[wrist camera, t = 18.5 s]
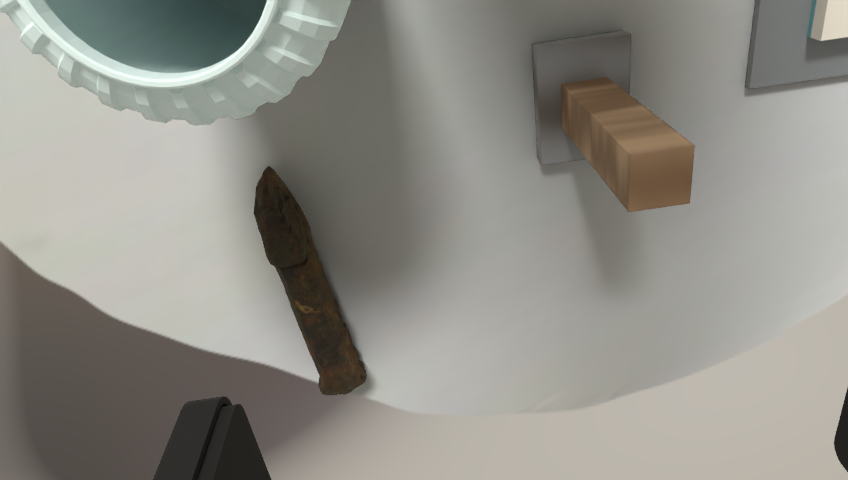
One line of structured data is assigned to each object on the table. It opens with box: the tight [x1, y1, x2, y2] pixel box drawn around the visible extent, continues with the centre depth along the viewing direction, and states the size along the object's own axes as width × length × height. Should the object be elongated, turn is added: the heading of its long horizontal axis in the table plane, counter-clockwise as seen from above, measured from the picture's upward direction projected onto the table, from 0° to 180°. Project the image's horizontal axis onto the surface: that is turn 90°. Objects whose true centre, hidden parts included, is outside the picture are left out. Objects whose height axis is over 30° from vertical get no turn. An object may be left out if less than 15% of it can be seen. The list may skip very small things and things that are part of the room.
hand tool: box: [254, 166, 366, 395], centre depth 46 cm, size 19×4×5 cm, turn 11°
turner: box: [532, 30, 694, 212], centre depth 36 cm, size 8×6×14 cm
